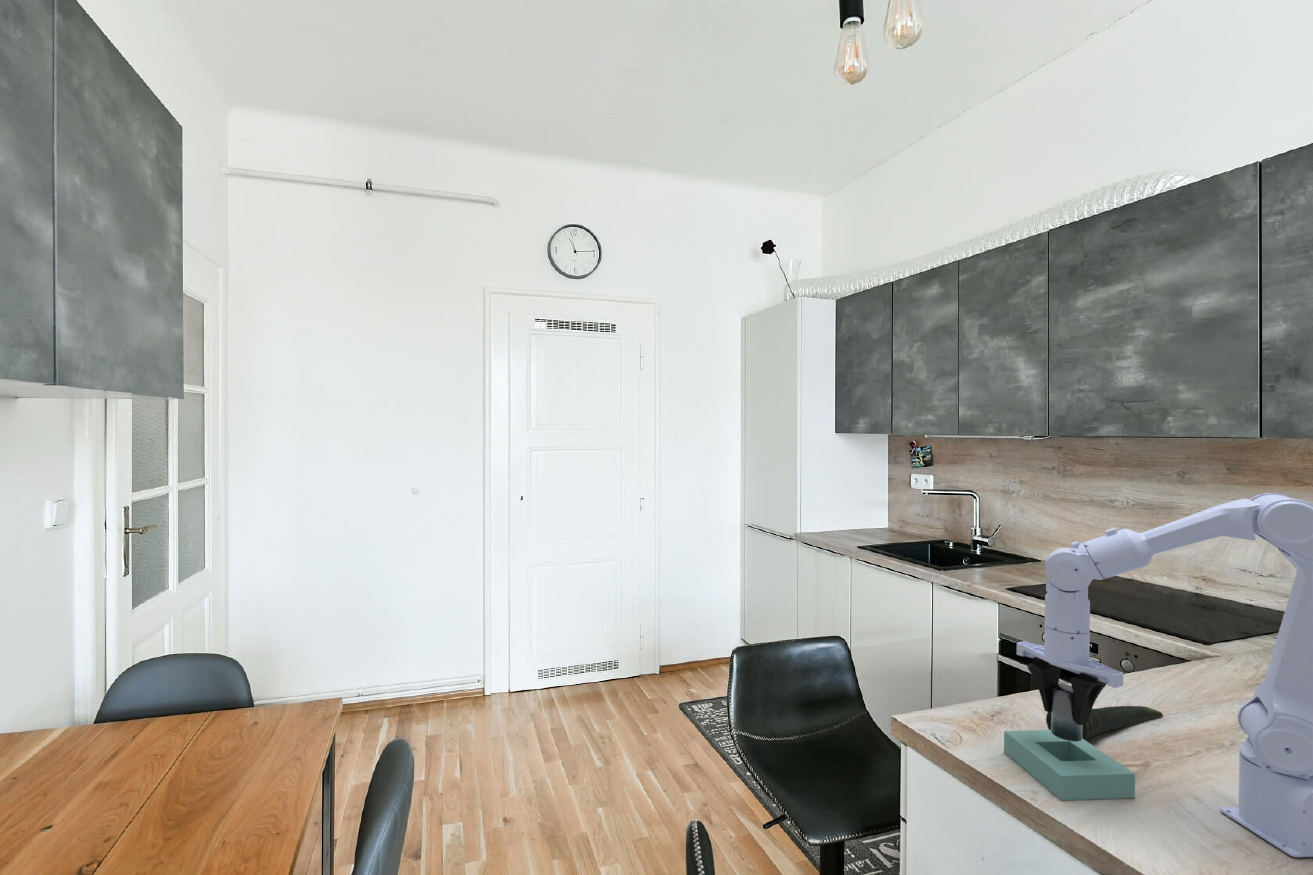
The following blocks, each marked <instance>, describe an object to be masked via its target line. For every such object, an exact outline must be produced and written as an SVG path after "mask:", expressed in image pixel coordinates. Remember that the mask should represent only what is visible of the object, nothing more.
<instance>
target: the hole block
mask: <svg viewBox="0 0 1313 875" xmlns="http://www.w3.org/2000/svg"><path fill="white" fill-rule="evenodd" d="M1003 732H1004V734H1003V752H1004V754H1006V755H1007V756H1008V757H1009V758H1010V759H1011V760H1012V761H1014V762H1015V763H1016V764H1017V765H1018V766H1020V767H1021V768H1022V769H1023V770H1024V771H1025V772H1027V773H1028V775H1030V776H1032V777H1033V779H1035V780H1036V781H1038V783H1040V784H1041V785H1042V786H1043V787H1044V788H1045V789H1046V790H1048V791H1049V792H1051V793H1052V795H1053V796H1055V797H1056V798H1058V799H1059V800H1060V801H1079V800H1081V801H1082V800H1085V801H1086V800H1087V801H1088V800H1109V799H1111V800H1113V799H1115V800H1116V799H1135V798H1136V797H1135V795H1136V773H1135V772H1133V771H1131V770H1130V769H1129V768H1127V767H1126V766H1124V765H1123V764H1121V763H1120V762H1118V761H1117V760H1115V759H1114V758H1112V757H1111V756H1109V755H1108V754H1106V752H1105V753H1104V752H1103V751H1102V750H1100V749H1099V748H1098V747H1096V746H1094V745H1093V744H1092V743H1090V742H1089V741H1087V740H1086V741H1085V740H1084V739H1082V740H1081V741H1068V740H1064V739H1061V738H1058V737H1056V736H1055V735H1053V734H1052V733H1051V730H1049V729H1039V730H1038V729H1037V730H1036V729H1034V730H1033V729H1032V730H1030V729H1029V730H1004V731H1003Z"/></svg>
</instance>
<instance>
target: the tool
mask: <svg viewBox="0 0 1313 875" xmlns="http://www.w3.org/2000/svg"><path fill="white" fill-rule="evenodd" d="M1163 716H1164V714H1163V713H1162V712H1161V711H1159V710H1156V709H1155V708H1151V707H1149V706H1141V705H1137V706H1135V705H1120V706H1105V707H1098V708H1092V710H1091V713H1090V716H1089V720H1088V723H1086V724H1083V733H1082V739H1084V740H1085V741H1087V740H1089V739H1091V738H1095V737H1096V736H1097V735H1098V734H1101V733H1103V732H1108V731H1114V730H1118V728H1119V729H1122V727H1123V728H1126V727H1130V725H1131V726H1135V725H1138V723H1140V724H1143V723H1148V722H1150V720H1151V721H1154V720H1158V719H1159V718H1162V717H1163ZM1045 722H1046V726H1047V728H1048V729H1047V730H1051V712H1047V713H1046V717H1045Z"/></svg>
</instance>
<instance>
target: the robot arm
mask: <svg viewBox="0 0 1313 875" xmlns="http://www.w3.org/2000/svg"><path fill="white" fill-rule="evenodd" d="M1105 533H1106V534H1105V535H1102V536H1099V537H1095V538H1092V539H1090V540H1086V541H1084V542H1079V541H1078V540H1076V541H1074V542H1071V546H1072V548H1070V547H1061V548H1060V547H1059V548H1057V549H1055V550H1052V551H1051V552H1050V554H1048V555H1047V558H1046V561H1045V563H1044V566H1045V567H1044V572H1045V576H1046V578H1047V582H1046V584H1045V591H1046V592H1047V593H1046V594H1045V596H1044V645H1040V644H1035V643H1031V642H1030V641H1026V640H1025V641H1023V640H1022V641H1019V642H1016V655H1017V656H1020V657H1027V658H1031V659H1032V660H1031V662H1030V663H1028V664H1027V670H1028V671H1029V673H1030V674H1031V675H1032V678H1033V680H1034V681H1035V684H1036V686H1037V688H1038V692H1039V695H1040V698H1041V701H1042V705H1043V709H1044V711H1045V712H1047V713H1048V712H1051V702H1052V685H1054V684H1060V683H1059V682H1060V676H1061V671H1062V669H1063V670H1066V671H1069V672H1072V673H1074V674H1077V675H1079V676H1074V677H1072V678H1070V679H1069V681H1070V686H1072V689H1073V694H1074V702H1075V709H1074V718H1075V723H1076V724H1078V725H1083V724H1086V723H1088V720H1089V716H1090V713H1091V710H1092V709H1093V707H1094V705H1095V702H1096V700H1097V699H1098V697H1099V695H1100V694H1101V693H1102V691H1103V689H1105V687H1106V686H1108V687H1111V688H1114V689H1116V688H1121V687H1123V686H1124V672H1122V671H1119V670H1118V669H1113V668H1111V667H1109V666H1107V665H1105V664H1103V663H1100V662H1098V661H1096V660H1094V659H1092V658H1090V649H1091V648H1090V642H1091V640H1090V637H1091V631H1090V629H1091V628H1090V627H1091V624H1090V623H1091V620H1090V619H1091V617H1090V616H1091V601H1090V599H1089V586H1090V584H1092V581H1093V580H1098V581H1102V580H1106V579H1108V578H1113V577H1116V576H1119V575H1122V574H1125V573H1128V572H1132V571H1136V570H1139V569H1142V568H1146V567H1148V566H1149V565H1150V563H1151V560H1152V558H1153V556H1154V555H1155V554H1160V553H1163V552H1167V551H1170V550H1174V549H1177V548H1181V547H1186V546H1189V545H1194V544H1196V543H1200V542H1204V541H1208V540H1211V539H1215V538H1218V537H1228V538H1236V539H1242V540H1249V541H1256V535H1257V536H1258V537H1260V539H1263V540H1264V541H1265V542H1268V543H1269V544H1271V545H1272V546H1274V547H1276V549H1278V552H1280V553H1281V555H1283V556H1284V557H1285V558H1286V560H1287V561H1288V562H1289V563H1290V564H1291V565H1292V566H1293V567H1294V568H1295V570H1296V574H1295V577H1294V581H1293V583H1292V586H1291V590H1290V594H1289V597H1288V599H1287V602H1286V607H1285V610H1284V613H1283V616H1282V620H1281V624H1280V627H1279V630H1278V634H1277V636H1276V639H1275V644H1274V647H1273V650H1272V653H1271V656H1270V660H1269V664H1268V667H1267V670H1266V673H1265V677H1264V680H1262V681H1261V683H1259V684H1258V685H1257V686H1256V687H1255V688H1254V692H1253V695H1252V697H1251V698H1250V699H1249V700H1248V701H1246V702H1245V703H1243V704H1242V705H1241V706H1240V708H1239V710H1238V711H1237V723H1238V725H1239V727H1240V728H1241V730H1242V731H1243V732H1244V734H1245V735H1246V736H1247V738H1246V740H1245V741H1244V742H1243V744H1241V746H1240V747H1239V758H1238V760H1239V762H1238V763H1239V765H1238V770H1239V771H1238V806H1223V807H1222V806H1221V807H1219V811H1220V812H1222V814H1225V816H1227V817H1229V818H1230V819H1232V820H1233V821H1235V822H1237V823H1239V825H1241V826H1243V827H1245V828H1246V829H1248V830H1249V831H1250V832H1253V833H1254V834H1256V835H1257V836H1259V837H1260V838H1262V839H1263V840H1265V841H1266V842H1268V843H1270V844H1271V845H1272V846H1274V847H1276V848H1278V849H1280V850H1281V851H1282V852H1284V853H1285V854H1287V855H1289V856H1291V857H1293V858H1313V503H1311V502H1309V501H1306V500H1303V499H1300V498H1293V497H1291V496H1289V495H1286V494H1283V493H1276V492H1267V493H1266V492H1265V493H1261V494H1258V495H1255V496H1253V497H1251V498H1250V499H1248V498H1241V499H1236V500H1232V501H1229V502H1225V503H1223V504H1218V505H1215V506H1213V507H1210V508H1207V509H1204V510H1201V511H1199V512H1196V513H1193V514H1190V515H1187V516H1185V517H1183V518H1180V519H1177V520H1174V521H1171V522H1168V523H1166V524H1161V525H1160V526H1157V527H1155V528H1152V529H1149V530H1146V531H1144V532H1137V531H1135V530H1132V529H1128V528H1123V529H1119V530H1117V528H1116V527H1112V528H1108V529H1106V530H1105Z"/></svg>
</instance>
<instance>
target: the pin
mask: <svg viewBox="0 0 1313 875" xmlns="http://www.w3.org/2000/svg"><path fill="white" fill-rule="evenodd" d="M1074 709H1075V702H1074V694H1073V689H1072V685H1071V684H1070V685H1069V684H1064V683H1058V684H1054V685H1052V702H1051V733H1052V734H1053V735H1055V736H1056V737H1058V738H1061V739H1064V740H1068V741H1081V740H1082V733H1083V725H1078V724H1076V723H1075V718H1074Z"/></svg>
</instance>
